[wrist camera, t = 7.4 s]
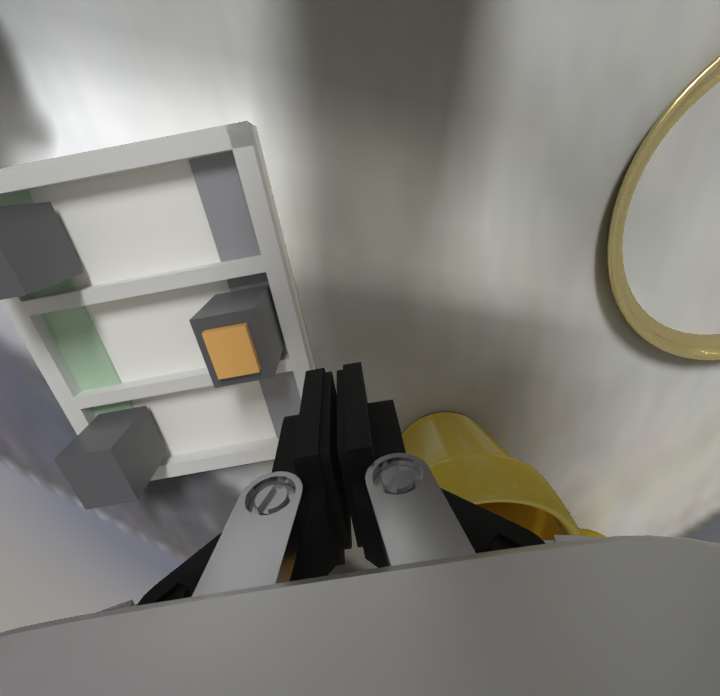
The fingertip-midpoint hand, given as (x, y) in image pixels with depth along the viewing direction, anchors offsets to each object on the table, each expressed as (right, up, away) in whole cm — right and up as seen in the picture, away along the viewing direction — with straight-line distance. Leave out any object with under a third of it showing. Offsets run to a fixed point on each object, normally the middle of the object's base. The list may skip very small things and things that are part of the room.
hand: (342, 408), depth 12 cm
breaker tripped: (-6, +3, +10) cm, 12 cm away
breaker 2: (-14, -4, +13) cm, 19 cm away
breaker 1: (-16, +7, +8) cm, 19 cm away
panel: (-11, +3, +12) cm, 16 cm away
